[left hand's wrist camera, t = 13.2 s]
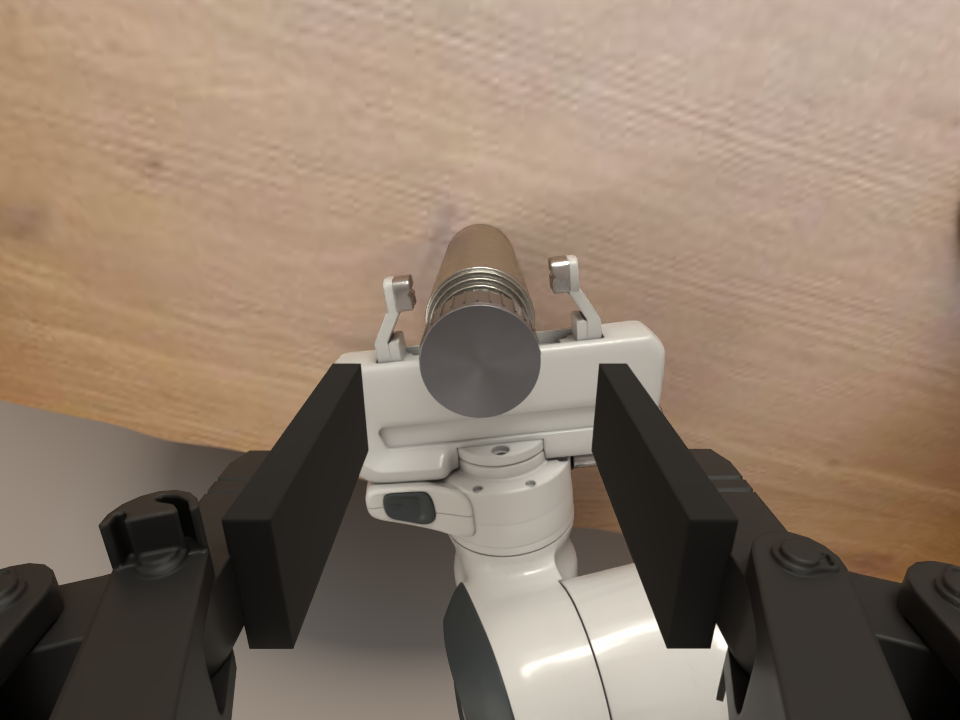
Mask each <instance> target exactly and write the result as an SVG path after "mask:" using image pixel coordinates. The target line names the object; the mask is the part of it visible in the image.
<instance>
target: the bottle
mask: <svg viewBox="0 0 960 720" xmlns="http://www.w3.org/2000/svg"><path fill="white" fill-rule="evenodd" d="M476 290H479V291H488V292H489V290H490V291H491V292H493V293H497V294H500V295H501V294H503V295H504V296H505V297H507V298H509V299H510V300H514V301H515V303H516V304H517V305H518V306H519V307H520V308H523V309H524V312H525V313H526V315H527V316H528V318H529V317H530V318H531V321H532V324H533V327H534V325H535V314H534V308H533V304H532V301H531V298H530V295H529V293H528V290H527V287H526V284H525V281H524V279H523V276H522V273H521V270H520V268H519V265H518V262H517V259H516V257H515V254H514V251H513V248H512V246H511V243H510V242H509V240H508V238H507V237H506V236H505V235H504V234H503V233H502V232H501V231H499V230H498V229H496V228H494V227H492V226H489V225H483V224H476V225H471V226H468V227H466V228H464V229H462V230H460V231H459V232H458V233H457V234H456V235H455V236H454V237H453V238H452V240H451V241H450V243H449V246H448V248H447V251H446V254H445V257H444V259H443V262H442V265H441V268H440V271H439V273H438V276H437V279H436V282H435V284H434V287H433V290H432V293H431V296H430V298H429V301H428V304H427V308H426V313H425V325H427V322H430V320H431V318H432V315H433V312H434V311H435V312H436V311H437V310H438V309H439V308H440V307H441V304H442V303H445V302H447V301H448V300H450V299H451V298H452V296H454V297H455V296H458V295H460V294H463V293H464V292H472V291H476Z"/></svg>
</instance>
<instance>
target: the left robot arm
mask: <svg viewBox="0 0 960 720" xmlns="http://www.w3.org/2000/svg"><path fill="white" fill-rule="evenodd" d="M368 451H369V448H368V437H367V426H366V415H365V403H364V392H363V381H362V370H361V363H333V364H332V366H331V367H330V368H329V370H328V371H327V373H326V374H325V375H324V377H323V378H322V380H321V381H320V382H319V384H318V385H317V387H316V388H315V389H314V391H313V392H312V394H311V395H310V396H309V398H308V399H307V401H306V402H305V403H304V405H303V406H302V408H301V409H300V410H299V412H298V413H297V415H296V416H295V417H294V419H293V420H292V422H291V423H290V424H289V426H288V427H287V429H286V430H285V431H284V433H283V434H282V436H281V437H280V438H279V440H278V441H277V443H276V444H275V445H274V447H273V448H272V450H271V451H249V452H247V453H246V454H244V455H242V456H241V457H239V458H238V459H236V460H235V461H233V462H232V463H230V464H229V466H228V467H227V468H226V469H225V470H224V472H223V473H222V474H221V475H220V476H219V478H218V481H216V482H215V483H214V484H213V485H212V486H211V488H210V489H209V490H208V494H205V495H204V496H203V497H202V498H201V500H200V501H199V502H198V499H197V498H196V497H195V496H194V495H192V494H191V493H189V492H184V491H179V490H170V491H159V492H155V493H151V494H147V495H143V496H140V497H138V498H136V499H133V500H131V501H129V502H127V503H124V504H122V505H121V506H119V507H118V508H116V509H115V510H113V511H112V512H111V513H109V514H108V515H107V516H106V517H105V518H104V520H103V521H102V522H101V523H100V524H99V529H100V531H101V535H102V538H103V541H104V544H105V547H106V550H107V553H108V556H109V559H110V562H111V565H112V568H113V571H112V573H111V574H108V575H104V576H100V577H96V578H91V579H86V580H82V581H77V582H73V583H68V584H64V585H58V582H57V580H56V577H55V575H54V572H53V570H52V569H50V568H49V567H47V566H46V565H44V564H33V563H28V564H22V565H16V566H10V567H7V568H3V569H0V720H231V718H232V708H233V698H234V688H235V678H236V662H235V656H234V652H233V646H234V644H235V642H236V640H237V638H238V636H239V634H240V632H241V630H242V628H243V626H245V630H246V635H247V639H248V644H249V648H250V649H293V648H294V645H295V643H296V640H297V637H298V635H299V632H300V629H301V627H302V624H303V622H304V619H305V616H306V614H307V611H308V608H309V606H310V603H311V601H312V598H313V595H314V593H315V590H316V587H317V585H318V582H319V580H320V577H321V574H322V572H323V569H324V566H325V564H326V561H327V559H328V556H329V553H330V551H331V548H332V545H333V543H334V540H335V538H336V535H337V532H338V530H339V527H340V524H341V522H342V519H343V516H344V514H345V511H346V509H347V506H348V503H349V501H350V498H351V496H352V493H353V490H354V488H355V485H356V482H357V480H358V477H359V475H360V472H361V469H362V467H363V464H364V461H365V459H366V456H367V454H368ZM591 451H592V454H593V456H594V459H595V461H596V464H597V467H598V469H599V472H600V475H601V477H602V480H603V482H604V485H605V488H606V490H607V493H608V496H609V498H610V501H611V503H612V506H613V509H614V511H615V514H616V517H617V519H618V522H619V524H620V527H621V530H622V532H623V535H624V537H625V540H626V543H627V545H628V548H629V551H630V553H631V556H632V559H633V561H634V564H635V566H636V569H637V572H638V574H639V577H640V580H641V582H642V585H643V587H644V590H645V593H646V595H647V598H648V601H649V603H650V606H651V608H652V611H653V614H654V616H655V619H656V622H657V624H658V627H659V629H660V632H661V635H662V637H663V640H664V643H665V645H666V648H667V649H711V644H712V639H713V635H714V630H715V626H716V624H717V626H718V628H719V630H720V632H721V634H722V636H723V638H724V639H725V641H726V643H727V645H728V647H727V652H726V656H725V660H724V664H723V669H722V673H721V677H720V681H719V686H718V690H717V697H716V700H718V701H721V702H723V700H724V696H725V692H726V696H727V706H728V716H729V720H960V567H959V566H955V565H952V564H946V563H941V562H935V561H925V562H916V563H915V564H913V565H912V566H910V567H909V568H908V569H907V572H906V574H905V577H904V580H903V582H902V583H898V582H893V581H889V580H884V579H879V578H875V577H870V576H866V575H861V574H857V573H853V572H850V571H848V570H847V568H846V567H845V565H844V564H843V562H842V561H841V560H840V558H839V557H838V556H837V555H835V554H834V553H833V552H832V551H830V550H829V549H828V548H827V547H825V546H824V545H822V544H820V543H818V542H816V541H814V540H812V539H810V538H808V537H804V536H801V535H798V534H794V533H791V532H788V531H787V530H786V529H785V528H784V526H783V525H782V524H781V523H780V522H779V520H778V519H777V518H776V517H775V516H774V514H773V513H772V512H771V511H770V509H769V508H768V507H767V506H766V505H765V503H764V502H763V501H762V500H761V499H760V497H759V496H758V495H757V494H756V492H753V489H752V488H751V486H750V485H749V484H748V483H747V482H746V480H743V479H742V476H741V474H740V473H739V472H738V471H737V469H736V468H735V467H734V466H733V465H732V463H731V462H730V461H728V460H727V459H725V458H724V457H722V456H720V455H719V454H717V453H716V452H714V451H713V450H711V449H688V448H687V447H686V445H685V444H684V443H683V441H682V440H681V438H680V437H679V436H678V434H677V433H676V431H675V430H674V429H673V427H672V426H671V424H670V423H669V422H668V420H667V419H666V417H665V416H664V415H663V413H662V412H661V410H660V409H659V408H658V406H657V405H656V403H655V402H654V401H653V399H652V398H651V396H650V395H649V394H648V392H647V391H646V389H645V388H644V387H643V385H642V384H641V382H640V381H639V380H638V378H637V377H636V375H635V374H634V373H633V371H632V370H631V368H630V367H629V366H628V364H627V363H599V370H598V381H597V392H596V403H595V415H594V426H593V437H592V448H591Z"/></svg>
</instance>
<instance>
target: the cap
mask: <svg viewBox="0 0 960 720" xmlns="http://www.w3.org/2000/svg"><path fill="white" fill-rule="evenodd" d="M538 343H539V340H538V336H537V333H536V330H535V328H534V327H533V324H532V321H531V318H530V317H529V318H528V316H527V315H526V313H525V312H524V309H523V308H520V307H519V306H518V305H517V304H516V303H515V301H514V300H510V299H509V298H507V297H505V296H504V295H503V294H501V295H500V294H497V293H493V292H491V291H490V290H489V292H488V291H479V290H476V291H472V292H464V293H463V294H460V295H458V296H455V297H454V296H452V298H451V299H450V300H448V301H447V302H445V303H442V304H441V307H440V308H439V309H438V310H437V311H436V312H435V311H434V312H433V315H432V318H431V320H430V322H427V325H426V328H425V331H424V334H423V337H422V340H421V343H420V348H421V350H420V355H419V366H420V373H421V377H422V379H423V382H424V384H425V386H426V388H427V390H428V391H429V393H430V394H431V395H432V397H433V398H434V399H435V400H436V401H437V402H438V403H440V404H441V405H442V406H444V407H445V408H447V409H448V410H450V411H452V412H454V413H457V414H460V415H463V416H467V417H474V418H487V417H493V416H497V415H501V414H503V413H506V412H508V411H510V410H512V409H513V408H515V407H516V406H518V405H519V404H520V403H522V402H523V401H524V400H525V399H526V398H527V396H528V395H529V394H530V393H531V391H532V390H533V388H534V386H535V384H536V382H537V380H538V376H539V373H540V367H541V356H540V355H541V351H540V347H539V344H538Z"/></svg>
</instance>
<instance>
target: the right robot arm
mask: <svg viewBox="0 0 960 720" xmlns="http://www.w3.org/2000/svg"><path fill="white" fill-rule="evenodd" d="M548 266H549V269H550V271H551V273H550V275H549V280H550V287H551V289H552V291H553V293H563V292H568V293H569V295H570V296H571V298H572V299H573V300H574V302H575V303H576V305H577V306H578V308H579V309H580V311H572V312H571V325H572V327H570V328H561V329H553V330H544V331H536V333H537V336H538V340H539V343H538V344H539V347H540V351H541V355H540V356H541V367H540V373H539V376H538V380H537V382H536V384H535V386H534V388H533V390H532V391H531V393H530V394H529V395H528V396H527V398H526V399H525V400H524V401H523V402H522V403H520V404H519V405H518V406H516V407H515V408H513V409H512V410H510V411H508V412H506V413H503V414H501V415H497V416H493V417H487V418H474V417H467V416H463V415H460V414H457V413H454V412H452V411H450V410H448V409H447V408H445V407H444V406H442V405H441V404H440V403H438V402H437V401H436V400H435V399H434V398H433V397H432V395H431V394H430V393H429V391H428V390H427V388H426V386H425V384H424V382H423V379H422V377H421V373H420V366H419V355H420V350H421V348H420V345H412V346H406V344H405V339H404V334H403V332H402V331H396V332H395V333H394V332H393V331H394V328H395V326H396V323H397V320H398V318H399V315H400V312H401V311H408V310H413V309H414V305H415V304H416V296H415V291H414V290H413V289H412V286H413V279H412V275H401V276H391V277H386V278H385V280H384V281H383V290H384V295H385V300H386V305H387V313H386V315H385V317H384V320H383V323H382V325H381V328H380V331H379V333H378V336H377V339H376V341H375V349H376V350H368V351H359V352H350V353H345V354H343V355H341V356H340V357H339V358H338V359H337V360H336V362H335V363H361V370H362V381H363V392H364V403H365V415H366V426H367V437H368V448H369V451H368V454H367V456H366V459H365V461H364V464H363V467H362V469H361V472H360V475H359V476H360V477H362V478H363V479H366V480H368V485H367V491H366V505H367V509H368V511H369V513H370V514H371V515H372V516H373V517H375V518H377V519H380V520H385V521H391V522H398V523H403V524H410V525H415V526H420V527H424V528H429V529H433V530H437V531H441V532H445V533H448V535H449V537H450V539H451V540H452V542H453V544H454V546H455V548H456V554H455V560H454V575H455V581H456V586H457V588H456V590H455V592H454V594H453V596H452V598H451V601H450V604H449V606H448V609H447V611H446V614H445V617H444V640H445V646H446V652H447V657H448V661H449V665H450V669H451V673H452V676H453V680H454V687H455V695H456V701H457V707H458V713H459V717H460V720H729V716H728V706H727V696H726V692H725V696H724V700H723V702H721V701H718V700H716V697H717V690H718V686H719V681H720V677H721V673H722V669H723V664H724V660H725V656H726V652H727V647H728V645H727V643H726V641H725V639H724V638H723V636H722V634H721V632H720V630H719V628H718V626H717V624H716V626H715V630H714V635H713V639H712V644H711V649H667V648H666V645H665V643H664V640H663V637H662V635H661V632H660V629H659V627H658V624H657V622H656V619H655V616H654V614H653V611H652V608H651V606H650V603H649V601H648V598H647V595H646V593H645V590H644V587H643V585H642V582H641V580H640V577H639V574H638V572H637V569H636V566H635V564H634V563H632V564H627V565H623V566H620V567H615V568H611V569H607V570H603V571H599V572H595V573H591V574H587V575H583V576H579V577H578V562H577V556H576V551H575V548H574V546H573V544H572V541H571V539H570V533H571V530H572V527H573V522H574V501H573V486H572V473H571V470H572V469H573V468H581V467H591V466H597V464H596V461H595V459H594V456H593V454H592V451H591V448H592V437H593V426H594V415H595V403H596V392H597V381H598V370H599V363H627V364H628V366H629V367H630V368H631V370H632V371H633V373H634V374H635V375H636V377H637V378H638V380H639V381H640V382H641V384H642V385H643V387H644V388H645V389H646V391H647V392H648V394H649V395H650V396H651V398H652V399H653V401H654V402H655V403H656V405H657V406H658V408H659V409H660V410H661V412H662V408H661V406H660V405H659V403H660V398H661V392H662V385H663V377H664V365H665V350H664V346H663V344H662V342H661V341H660V339H659V338H658V337H657V336H656V335H655V334H654V333H653V332H652V331H651V330H650V329H649V328H648V327H646V326H645V325H644V324H643V323H641V322H639V321H636V320H632V321H623V322H614V323H605V324H601V318H600V316H599V315H598V313H597V312H596V311H595V309H594V308H593V306H592V305H591V303H590V302H589V300H588V299H587V297H586V296H585V294H584V293H583V292H582V290H581V289H580V288H579V270H578V261H577V258H576V257H575V256H574V255H567V256H559V257H551V258H548ZM662 413H663V412H662Z"/></svg>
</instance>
